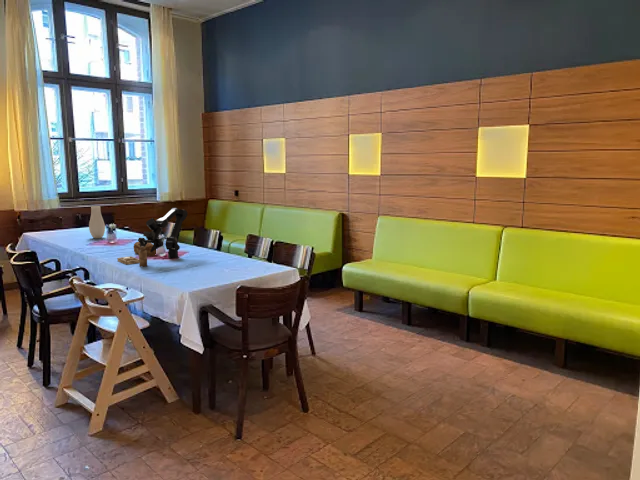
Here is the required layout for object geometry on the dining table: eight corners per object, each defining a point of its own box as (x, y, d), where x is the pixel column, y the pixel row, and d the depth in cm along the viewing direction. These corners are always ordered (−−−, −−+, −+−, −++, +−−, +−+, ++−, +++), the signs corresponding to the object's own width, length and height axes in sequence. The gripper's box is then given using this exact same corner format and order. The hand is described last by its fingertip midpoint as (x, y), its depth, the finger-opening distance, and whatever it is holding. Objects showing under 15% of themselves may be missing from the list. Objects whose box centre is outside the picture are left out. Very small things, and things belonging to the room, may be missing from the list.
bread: (133, 254, 384) (132, 241, 383) (146, 252, 392) (145, 240, 390) (144, 257, 372) (144, 244, 370) (157, 255, 379) (157, 242, 378)
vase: (106, 238, 457) (104, 206, 452) (90, 239, 450) (88, 207, 445) (104, 236, 469) (102, 205, 464) (89, 237, 462) (86, 206, 457)
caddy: (131, 259, 361) (130, 256, 360) (140, 263, 349) (140, 259, 349) (117, 261, 354) (117, 258, 353) (126, 265, 342) (126, 261, 342)
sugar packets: (128, 260, 357) (128, 257, 356) (130, 260, 355) (130, 257, 354) (122, 261, 354) (122, 257, 353) (124, 261, 352) (124, 258, 351)
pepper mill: (146, 265, 344) (145, 245, 341) (148, 266, 340) (147, 246, 337) (138, 265, 341) (137, 245, 338) (140, 267, 337) (139, 247, 334)
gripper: (138, 226, 347) (128, 243, 338) (160, 227, 340) (150, 245, 332) (146, 235, 355) (137, 253, 347) (167, 237, 349) (158, 255, 340)
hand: (145, 251), depth 341 cm, fingers open, 9 cm apart
